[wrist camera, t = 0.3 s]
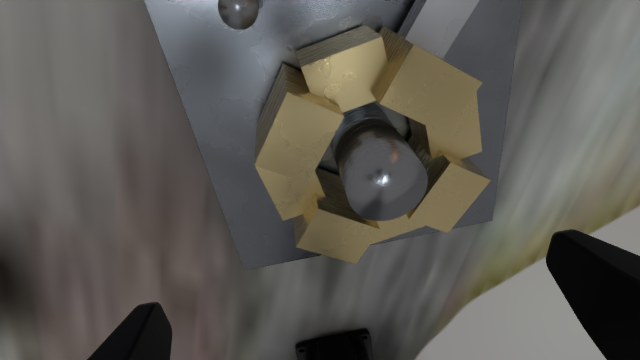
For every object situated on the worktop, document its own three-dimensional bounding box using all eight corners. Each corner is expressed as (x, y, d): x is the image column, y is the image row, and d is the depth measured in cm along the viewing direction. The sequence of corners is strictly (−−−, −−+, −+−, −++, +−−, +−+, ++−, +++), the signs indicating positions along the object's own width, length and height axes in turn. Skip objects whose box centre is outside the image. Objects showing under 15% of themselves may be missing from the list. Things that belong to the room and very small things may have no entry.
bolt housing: (489, 217, 27) (547, 285, 21) (244, 266, 26) (239, 349, 21) (529, -86, 17) (656, -104, 11) (141, -17, 16) (78, -1, 11)
